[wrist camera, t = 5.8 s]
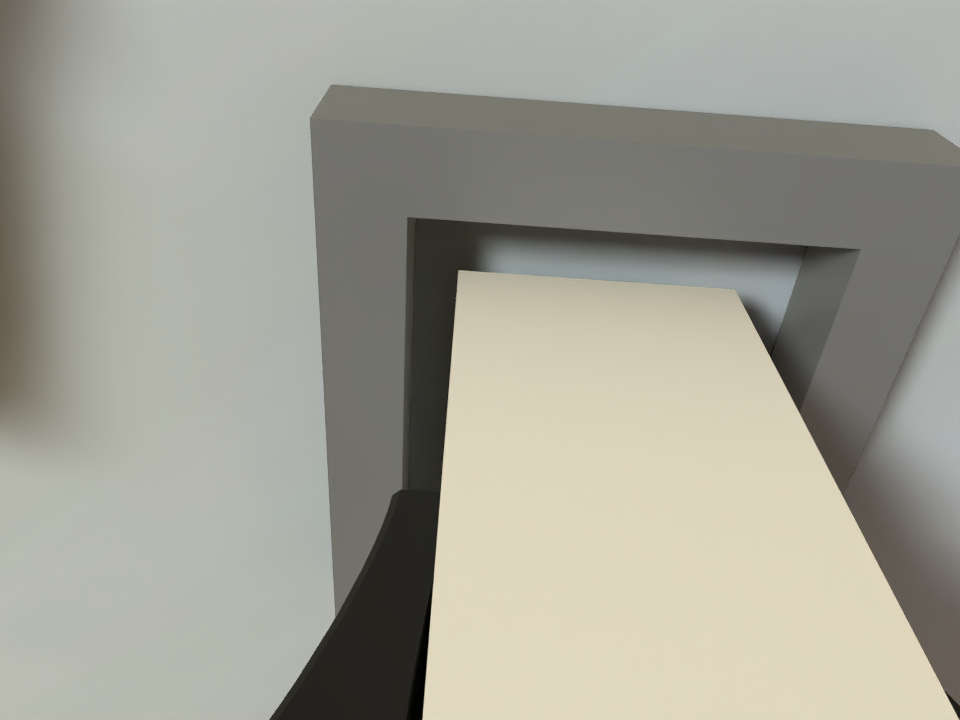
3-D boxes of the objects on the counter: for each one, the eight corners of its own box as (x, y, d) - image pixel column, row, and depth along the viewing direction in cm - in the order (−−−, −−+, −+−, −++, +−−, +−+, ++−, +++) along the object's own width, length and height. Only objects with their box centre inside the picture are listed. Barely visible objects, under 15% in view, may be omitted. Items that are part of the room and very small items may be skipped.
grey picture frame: (933, 130, 11) (989, 168, 10) (742, 611, 17) (762, 673, 16) (330, 85, 11) (309, 118, 10) (348, 588, 17) (336, 650, 15)
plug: (734, 289, 11) (985, 770, 6) (654, 570, 15) (758, 1051, 9) (458, 269, 11) (420, 740, 5) (440, 557, 15) (405, 1036, 9)
